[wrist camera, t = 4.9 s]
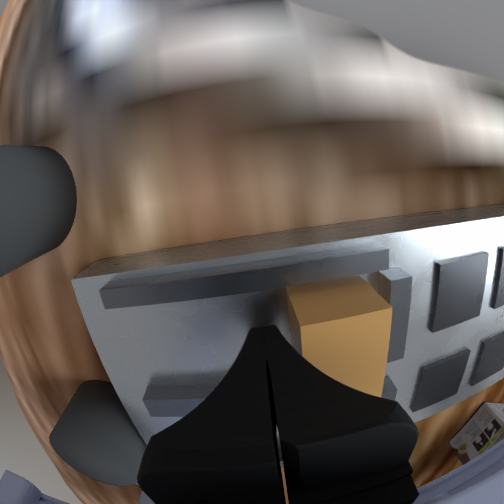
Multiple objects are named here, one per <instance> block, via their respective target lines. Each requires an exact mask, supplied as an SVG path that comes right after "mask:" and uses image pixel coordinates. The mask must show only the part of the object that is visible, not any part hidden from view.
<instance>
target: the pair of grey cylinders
mask: <svg viewBox="0 0 504 504" xmlns="http://www.w3.org/2000/svg"><path fill="white" fill-rule="evenodd" d="M76 203H77V197H76V186H75V182H74V178H73V175H72V172H71V170H70V167H69V166H68V164H67V162H66V161H65V159H64V158H63V157H62V156H61V155H60V154H59V153H58V152H56V151H55V150H53V149H51V148H48V147H39V146H7V145H0V277H2V276H3V275H5V274H7V273H9V272H11V271H12V270H14V269H16V268H18V267H20V266H22V265H23V264H25V263H27V262H29V261H31V260H33V259H35V258H37V257H39V256H41V255H43V254H45V253H47V252H49V251H51V250H52V249H54V248H56V247H58V246H59V245H60V244H61V243H62V242H63V241H64V240H65V238H66V237H67V235H68V234H69V232H70V230H71V227H72V225H73V222H74V218H75V213H76ZM49 439H50V443H51V445H52V447H53V449H54V450H55V451H56V453H57V454H58V455H59V456H60V457H61V458H62V459H63V460H64V461H65V462H66V463H68V464H69V465H70V466H71V467H73V468H74V469H76V470H77V471H79V472H81V473H82V474H84V475H86V476H88V477H90V478H92V479H95V480H97V481H100V482H103V483H106V484H110V485H115V486H129V485H132V484H134V483H135V482H136V480H137V475H138V471H139V468H140V464H141V460H142V457H143V454H144V451H145V448H146V443H145V441H144V440H143V438H142V437H141V435H140V433H139V432H138V430H137V428H136V427H135V425H134V423H133V422H132V420H131V418H130V417H129V415H128V413H127V411H126V409H125V408H124V406H123V404H122V402H121V400H120V398H119V396H118V394H117V393H116V391H115V389H114V387H113V385H112V383H108V382H104V381H98V380H92V381H87V382H84V383H83V384H81V385H80V387H79V388H78V390H77V391H76V393H75V394H74V396H73V398H72V399H71V401H70V402H69V404H68V406H67V407H66V409H65V410H64V412H63V414H62V415H61V417H60V419H59V420H58V422H57V424H56V425H55V427H54V429H53V430H52V432H51V434H50V437H49Z"/></svg>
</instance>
